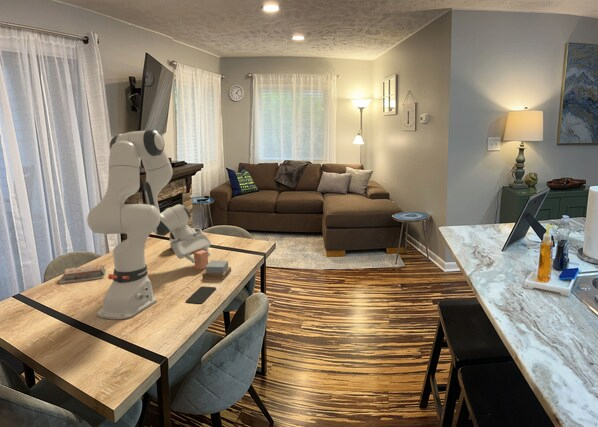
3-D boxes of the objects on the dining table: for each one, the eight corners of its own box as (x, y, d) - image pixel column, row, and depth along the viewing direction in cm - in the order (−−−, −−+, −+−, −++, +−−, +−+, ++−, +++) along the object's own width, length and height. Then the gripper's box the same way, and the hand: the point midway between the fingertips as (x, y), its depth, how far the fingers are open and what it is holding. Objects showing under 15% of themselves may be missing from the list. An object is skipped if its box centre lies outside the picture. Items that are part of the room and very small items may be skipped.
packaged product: (105, 262, 191) (102, 269, 182) (106, 271, 192) (103, 279, 183) (62, 266, 186) (57, 274, 177) (64, 276, 187) (58, 284, 178)
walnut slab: (223, 281, 179) (223, 274, 178) (202, 279, 181) (202, 273, 180) (231, 272, 189) (231, 266, 188) (211, 271, 190) (210, 265, 190)
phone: (184, 301, 157) (200, 286, 172) (184, 303, 158) (201, 287, 172) (201, 303, 156) (217, 287, 170) (202, 305, 156) (217, 289, 170)
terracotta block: (201, 269, 191) (200, 253, 189) (194, 268, 194) (193, 252, 192) (208, 266, 195) (207, 251, 193) (201, 265, 197) (200, 249, 195)
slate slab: (223, 273, 180) (223, 267, 179) (206, 272, 181) (205, 266, 180) (228, 266, 188) (227, 260, 187) (211, 266, 189) (211, 260, 188)
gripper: (171, 238, 185) (189, 262, 183) (203, 228, 202) (219, 249, 200) (166, 246, 188) (182, 269, 186) (197, 235, 206) (213, 256, 203)
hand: (201, 259), depth 193 cm, fingers open, 8 cm apart
